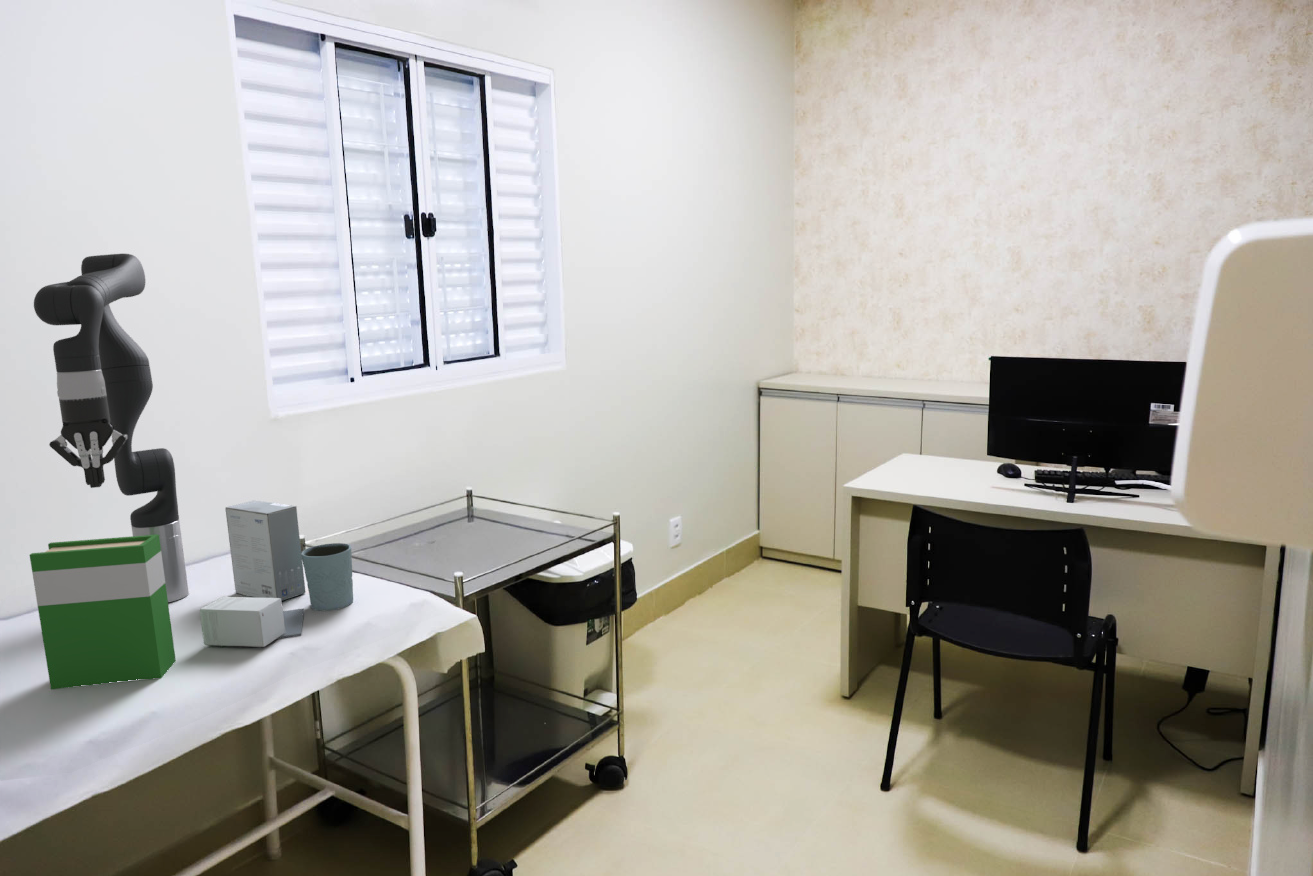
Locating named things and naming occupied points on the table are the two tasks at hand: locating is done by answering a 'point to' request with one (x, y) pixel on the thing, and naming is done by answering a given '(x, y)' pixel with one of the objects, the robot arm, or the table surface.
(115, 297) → the robot arm
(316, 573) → the blue-grey plant pot
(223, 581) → the table surface
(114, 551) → the hardback book
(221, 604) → the supplement box
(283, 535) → the hard drive box
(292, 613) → the mat
